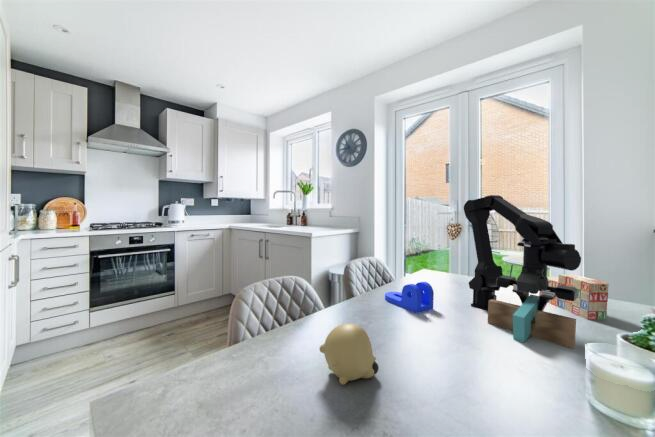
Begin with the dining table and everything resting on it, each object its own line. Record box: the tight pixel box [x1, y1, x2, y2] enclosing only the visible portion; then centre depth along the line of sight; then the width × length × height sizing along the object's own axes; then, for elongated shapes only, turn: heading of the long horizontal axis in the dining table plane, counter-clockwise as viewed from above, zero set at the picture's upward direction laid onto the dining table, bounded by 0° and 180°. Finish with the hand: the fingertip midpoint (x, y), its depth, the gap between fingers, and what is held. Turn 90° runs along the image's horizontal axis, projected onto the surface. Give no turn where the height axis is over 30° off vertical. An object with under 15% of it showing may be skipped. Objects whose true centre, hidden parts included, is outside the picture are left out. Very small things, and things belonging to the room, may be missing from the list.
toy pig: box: [318, 323, 380, 386], centre depth 57 cm, size 10×12×11 cm
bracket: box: [384, 281, 435, 314], centre depth 103 cm, size 18×8×9 cm, turn 31°
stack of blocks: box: [538, 273, 609, 321], centre depth 100 cm, size 21×6×12 cm, turn 179°
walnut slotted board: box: [487, 299, 577, 349], centre depth 79 cm, size 20×2×7 cm, turn 40°
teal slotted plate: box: [512, 294, 540, 343], centre depth 79 cm, size 16×2×7 cm, turn 129°
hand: (533, 315), depth 82 cm, fingers closed on teal slotted plate, 2 cm apart
